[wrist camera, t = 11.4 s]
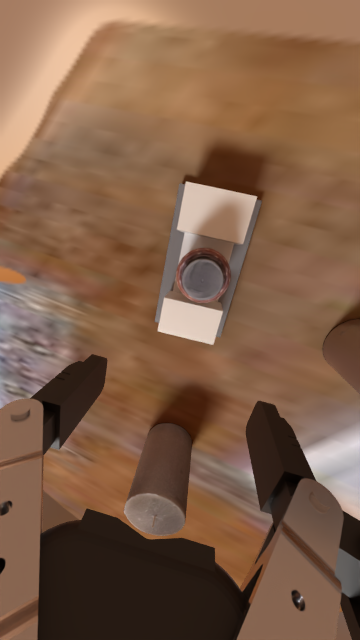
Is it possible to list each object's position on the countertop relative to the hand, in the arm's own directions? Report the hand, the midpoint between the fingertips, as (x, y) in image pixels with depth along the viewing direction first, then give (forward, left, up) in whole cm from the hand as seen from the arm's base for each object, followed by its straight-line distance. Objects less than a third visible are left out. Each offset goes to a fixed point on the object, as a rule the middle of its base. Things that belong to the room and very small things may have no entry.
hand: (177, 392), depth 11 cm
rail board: (+3, -2, -25) cm, 25 cm away
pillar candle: (-26, +20, -25) cm, 41 cm away
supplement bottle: (+3, -3, -23) cm, 23 cm away
